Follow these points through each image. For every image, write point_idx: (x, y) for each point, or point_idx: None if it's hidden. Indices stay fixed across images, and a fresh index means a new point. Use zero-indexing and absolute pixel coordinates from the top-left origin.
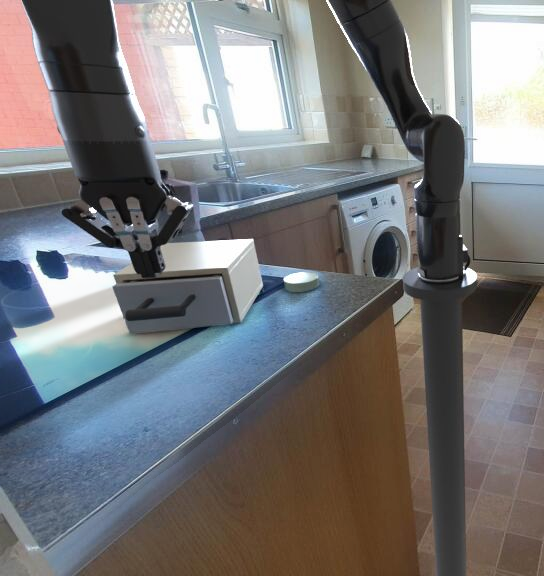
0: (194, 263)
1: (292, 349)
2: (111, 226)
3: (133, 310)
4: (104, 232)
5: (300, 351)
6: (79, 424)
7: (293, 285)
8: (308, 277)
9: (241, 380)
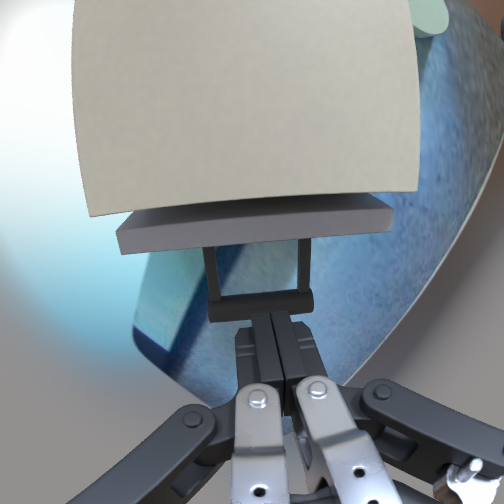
0: (306, 114)
1: (418, 275)
2: (175, 472)
3: (222, 319)
4: (200, 487)
5: (425, 281)
6: (231, 382)
7: (414, 29)
8: (434, 9)
9: (365, 335)
